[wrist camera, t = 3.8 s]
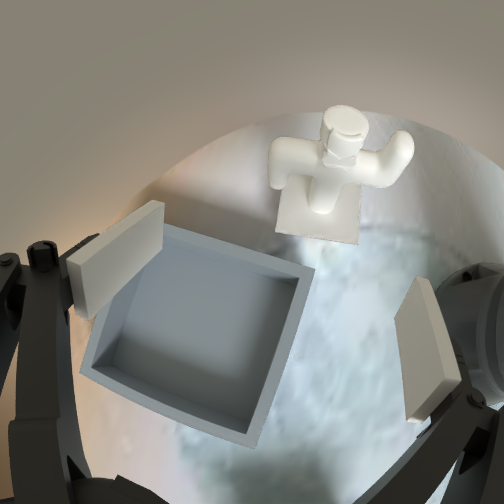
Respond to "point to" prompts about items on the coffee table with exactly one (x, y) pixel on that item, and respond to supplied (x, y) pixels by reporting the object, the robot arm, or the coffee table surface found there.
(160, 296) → the tray
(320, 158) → the figurine
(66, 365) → the robot arm
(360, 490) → the coffee table surface
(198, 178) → the coffee table surface
